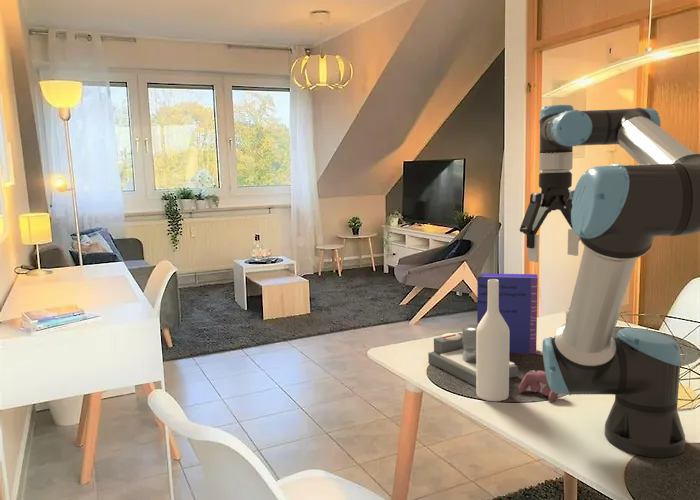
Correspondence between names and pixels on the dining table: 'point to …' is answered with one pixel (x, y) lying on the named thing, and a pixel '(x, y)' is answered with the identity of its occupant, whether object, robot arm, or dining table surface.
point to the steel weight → (469, 343)
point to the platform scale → (457, 358)
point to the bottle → (492, 350)
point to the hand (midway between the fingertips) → (553, 258)
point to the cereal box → (513, 307)
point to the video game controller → (537, 384)
